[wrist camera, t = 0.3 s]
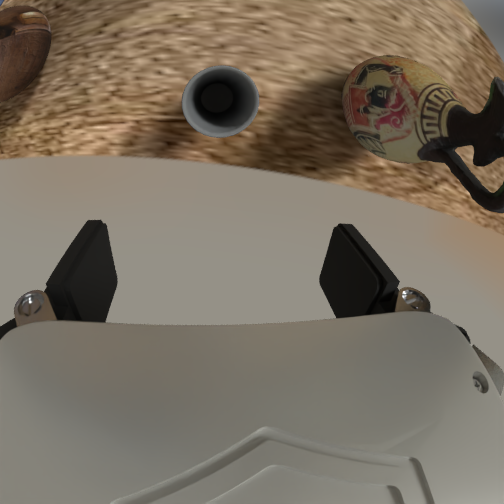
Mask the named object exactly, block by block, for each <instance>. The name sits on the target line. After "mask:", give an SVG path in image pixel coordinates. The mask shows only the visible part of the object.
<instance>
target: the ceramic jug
mask: <svg viewBox="0 0 504 504" xmlns="http://www.w3.org/2000/svg"><path fill="white" fill-rule="evenodd" d="M342 104H343V112H344V115H345V119H346V122H347V124H348V127H349V129H350V131H351V132H352V134H353V135H354V136H355V137H356V139H357V140H358V141H359V143H360V144H361V145H362V146H364V147H365V148H366V149H367V150H369V151H370V152H372V153H373V154H375V155H377V156H379V157H382V158H384V159H387V160H390V161H395V162H399V163H407V164H409V163H419V162H424V161H432V162H441V163H445V164H446V165H447V166H448V167H449V168H450V170H451V172H452V173H453V174H454V175H455V176H456V177H457V178H458V179H459V181H460V182H461V184H462V185H463V186H464V187H465V188H466V190H467V191H468V192H469V193H470V195H471V197H472V199H473V200H475V201H476V202H477V203H478V204H479V205H481V206H482V207H483V208H485V209H487V210H489V211H492V212H497V213H504V182H503V185H502V186H501V187H500V188H499V189H498V190H497V191H496V192H495V193H491V192H489V191H488V190H487V189H486V188H485V187H484V186H482V184H481V183H480V181H479V180H478V179H477V178H476V177H475V176H474V175H473V174H472V173H471V171H470V170H469V168H468V167H467V166H466V164H465V163H464V162H463V160H462V159H461V157H460V156H459V155H458V154H457V153H456V152H455V149H456V148H457V147H462V146H467V145H472V146H473V147H474V157H473V164H474V165H476V166H486V165H488V164H490V163H492V162H493V161H495V160H496V159H497V158H500V157H503V156H504V82H503V81H502V80H501V79H500V78H499V77H494V79H493V81H492V83H491V88H490V95H489V99H488V101H487V103H486V105H485V106H484V109H483V110H482V111H481V112H480V113H478V114H473V113H470V112H469V111H468V110H467V109H466V108H465V107H464V106H463V105H462V103H461V101H460V100H459V98H458V97H457V95H456V94H455V93H454V92H453V90H452V89H451V88H450V87H449V85H448V84H447V83H446V82H445V81H444V80H443V79H442V78H441V77H440V76H439V75H438V74H436V73H435V72H434V71H432V70H431V69H430V68H428V67H426V66H424V65H422V64H420V63H418V62H416V61H413V60H410V59H408V58H404V57H400V56H390V55H384V56H379V57H373V58H371V59H368V60H366V61H364V62H362V63H361V64H359V65H358V66H356V67H355V68H354V69H353V71H352V72H351V73H350V75H349V76H348V78H347V79H346V82H345V84H344V87H343V92H342Z"/></svg>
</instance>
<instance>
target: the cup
mask: <svg viewBox="0 0 504 504" xmlns="http://www.w3.org/2000/svg"><path fill="white" fill-rule="evenodd" d="M258 107H259V94H258V90H257V88H256V85H255V83H254V82H253V81H252V79H251V78H250V77H249V76H248V75H247V74H246V73H244V72H242V71H241V70H239V69H237V68H234V67H230V66H214V67H210V68H207V69H204V70H202V71H200V72H199V73H198V74H196V75H195V76H194V77H193V78H192V79H191V80H190V81H189V82H188V84H187V86H186V87H185V90H184V92H183V96H182V110H183V113H184V116H185V118H186V120H187V122H188V123H189V124H190V125H191V126H192V127H193V128H194V129H195V130H196V131H198V132H200V133H202V134H204V135H207V136H210V137H217V138H220V137H228V136H232V135H235V134H237V133H239V132H241V131H242V130H244V129H245V128H246V127H247V126H248V125H249V124H250V123H251V122H252V121H253V119H254V118H255V116H256V113H257V111H258Z"/></svg>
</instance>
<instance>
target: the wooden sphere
mask: <svg viewBox="0 0 504 504" xmlns="http://www.w3.org/2000/svg"><path fill="white" fill-rule="evenodd" d="M50 44H51V29H50V25H49V22H48V20H47V18H46V17H45V15H44V14H43V13H42V12H41V11H39V10H38V9H36V8H33V7H30V6H14V7H10V8H7V9H4V10H2V11H0V102H3V101H6V100H8V99H10V98H12V97H14V96H15V95H17V94H18V93H20V92H21V91H22V90H24V89H25V88H26V87H27V86H28V85H29V84H30V83H31V82H32V81H33V80H34V78H35V77H36V76H37V74H38V73H39V71H40V70H41V68H42V66H43V65H44V63H45V60H46V58H47V56H48V53H49V49H50Z"/></svg>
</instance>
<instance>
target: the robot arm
mask: <svg viewBox="0 0 504 504" xmlns="http://www.w3.org/2000/svg"><path fill="white" fill-rule="evenodd" d="M319 280H320V281H319V282H320V286H321V288H322V290H323V292H324V294H325V296H326V298H327V300H328V302H329V304H330V306H331V308H332V310H333V312H334V314H335V316H336V319H324V320H312V321H300V322H284V323H266V324H242V325H146V324H123V323H106V322H105V321H106V318H107V315H108V311H109V308H110V305H111V302H112V299H113V296H114V293H115V290H116V287H117V274H116V270H115V265H114V261H113V256H112V251H111V246H110V241H109V235H108V230H107V225H106V224H105V223H103V222H102V221H101V220H88V221H87V222H86V224H85V225H84V226H83V228H82V229H81V230H80V232H79V233H78V235H77V236H76V238H75V239H74V240H73V242H72V243H71V245H70V246H69V248H68V249H67V251H66V252H65V254H64V255H63V257H62V258H61V260H60V262H59V263H58V265H57V266H56V268H55V269H54V271H53V273H52V274H51V276H50V278H49V279H48V281H47V283H46V285H47V288H46V289H45V291H44V292H43V291H40V290H34V291H30V292H27V293H26V294H24V295H23V296H21V298H19V300H18V301H17V302H16V304H15V307H14V314H15V318H14V319H12V320H10V321H9V322H7V323H5V324H4V325H2V326H0V504H504V403H503V401H502V399H501V393H502V389H503V385H504V373H503V371H502V369H501V368H500V367H499V366H498V365H497V364H496V363H495V362H494V361H493V360H491V359H490V358H489V357H488V356H486V355H485V354H484V353H483V352H482V351H481V350H479V349H478V348H477V347H476V346H475V345H472V346H471V345H470V344H471V343H470V339H469V336H468V335H467V332H466V331H465V330H464V329H463V328H462V327H459V326H457V325H455V324H453V323H452V322H451V321H450V320H449V319H447V318H444V317H442V316H439V315H436V314H433V313H431V312H430V302H429V300H428V298H427V297H426V296H425V295H424V294H423V293H422V292H420V291H418V290H416V289H414V288H411V287H404V288H402V289H400V291H399V290H398V288H397V287H398V285H399V282H400V281H399V280H398V279H397V277H396V276H395V275H394V274H393V272H392V271H391V270H390V269H389V267H388V266H387V265H386V264H385V262H384V261H383V260H382V259H381V257H380V256H379V255H378V254H377V253H376V251H375V250H374V249H373V248H372V247H371V245H370V244H369V243H368V242H367V241H366V240H365V239H364V237H363V236H362V235H361V234H360V233H359V232H358V230H357V229H356V228H355V227H354V226H353V225H352V224H338V226H337V227H334V229H333V232H332V236H331V239H330V243H329V247H328V250H327V254H326V257H325V260H324V264H323V267H322V271H321V274H320V278H319Z"/></svg>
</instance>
